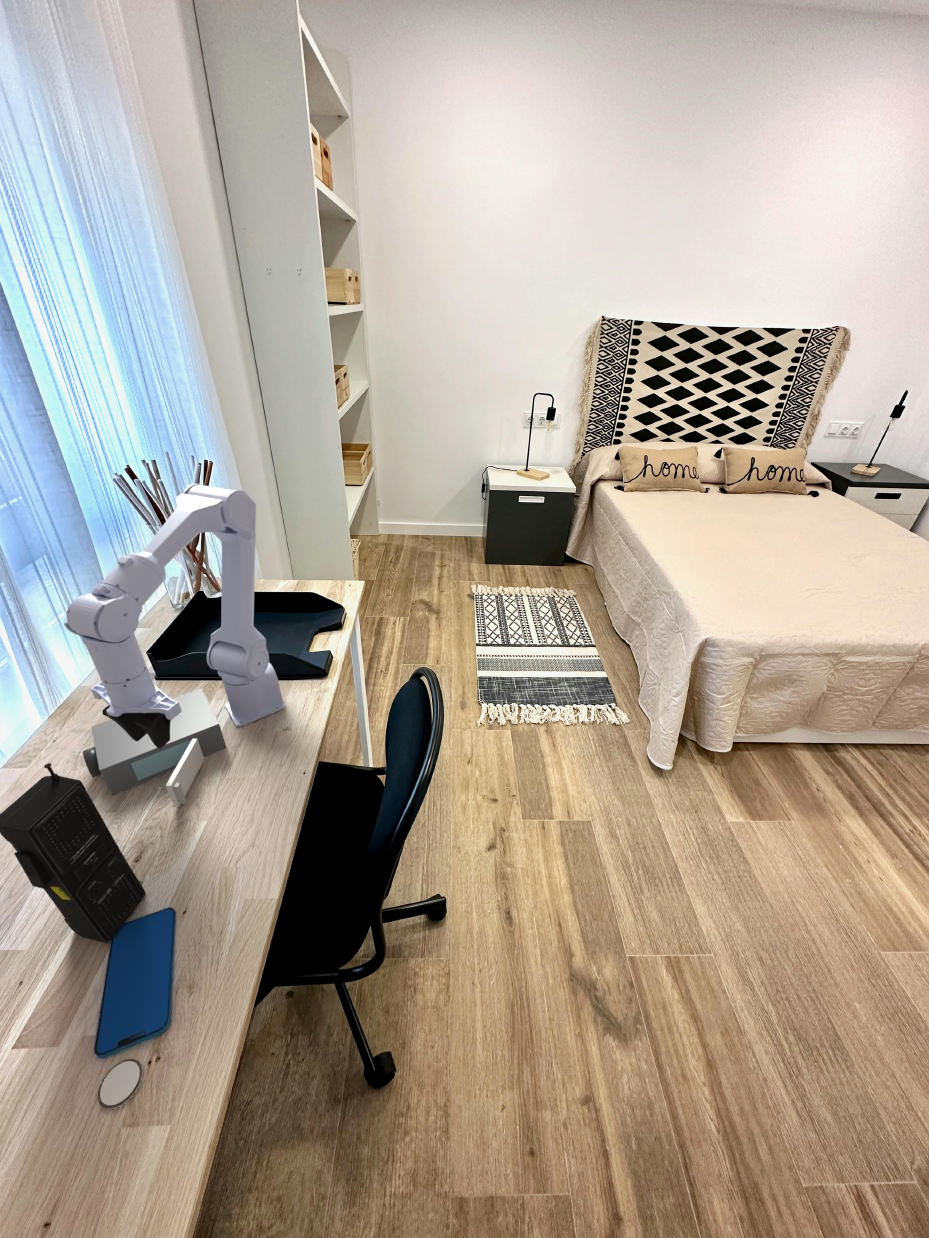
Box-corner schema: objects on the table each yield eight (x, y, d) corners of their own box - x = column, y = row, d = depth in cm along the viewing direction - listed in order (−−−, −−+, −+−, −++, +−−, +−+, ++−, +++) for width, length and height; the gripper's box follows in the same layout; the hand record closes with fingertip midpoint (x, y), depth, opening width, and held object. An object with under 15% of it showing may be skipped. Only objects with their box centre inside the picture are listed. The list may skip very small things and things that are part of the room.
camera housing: (209, 711, 101) (201, 688, 98) (226, 748, 93) (219, 724, 90) (91, 755, 91) (78, 731, 87) (99, 801, 82) (86, 776, 79)
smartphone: (175, 904, 68) (169, 1027, 57) (177, 908, 69) (171, 1031, 57) (112, 926, 66) (91, 1060, 54) (115, 930, 66) (94, 1064, 55)
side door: (199, 759, 90) (192, 738, 87) (209, 759, 90) (202, 738, 87) (174, 806, 81) (165, 785, 79) (184, 806, 81) (176, 785, 79)
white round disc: (138, 1051, 56) (136, 1048, 55) (148, 1086, 53) (146, 1084, 53) (95, 1082, 53) (93, 1080, 53) (104, 1121, 51) (102, 1119, 50)
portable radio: (105, 954, 63) (17, 826, 50) (64, 943, 64) (-33, 815, 51) (150, 893, 70) (83, 766, 57) (112, 884, 71) (37, 757, 58)
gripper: (59, 677, 71) (94, 746, 79) (141, 699, 68) (169, 770, 75) (103, 649, 77) (132, 716, 84) (181, 669, 74) (204, 737, 81)
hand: (152, 740), depth 80 cm, fingers open, 4 cm apart
